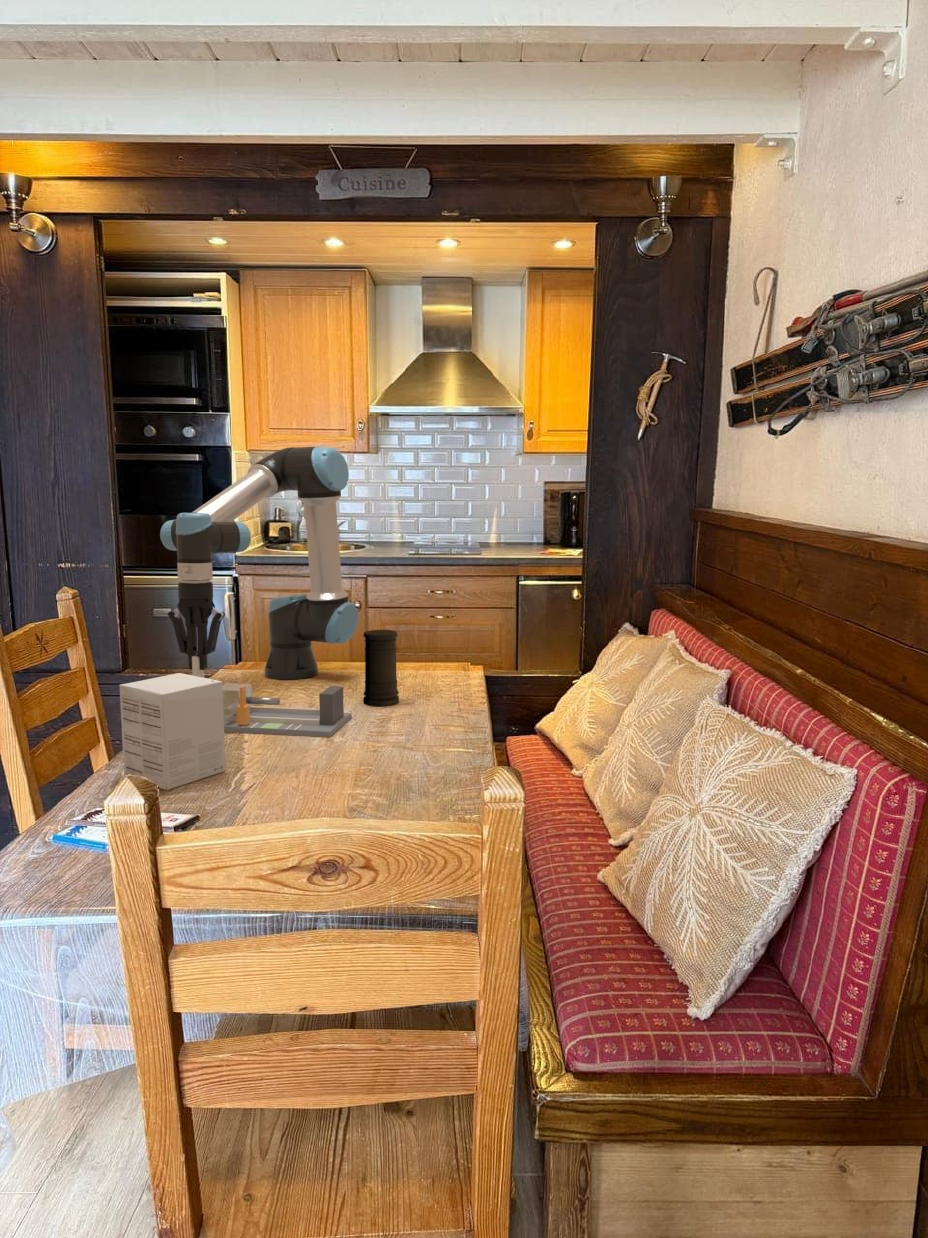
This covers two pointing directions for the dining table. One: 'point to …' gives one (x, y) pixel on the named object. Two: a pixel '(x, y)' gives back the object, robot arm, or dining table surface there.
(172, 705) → the supplement box
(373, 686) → the container
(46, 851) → the dining table surface
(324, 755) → the dining table surface
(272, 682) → the dining table surface
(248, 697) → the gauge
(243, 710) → the orange t-shaped stamp
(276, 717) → the grey slider board
